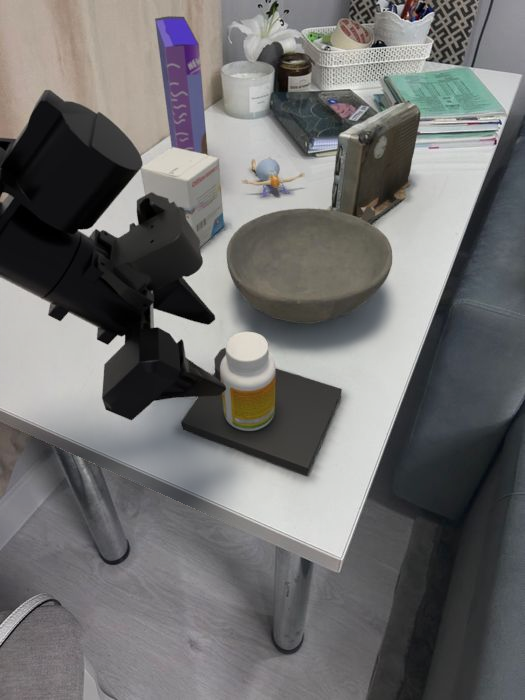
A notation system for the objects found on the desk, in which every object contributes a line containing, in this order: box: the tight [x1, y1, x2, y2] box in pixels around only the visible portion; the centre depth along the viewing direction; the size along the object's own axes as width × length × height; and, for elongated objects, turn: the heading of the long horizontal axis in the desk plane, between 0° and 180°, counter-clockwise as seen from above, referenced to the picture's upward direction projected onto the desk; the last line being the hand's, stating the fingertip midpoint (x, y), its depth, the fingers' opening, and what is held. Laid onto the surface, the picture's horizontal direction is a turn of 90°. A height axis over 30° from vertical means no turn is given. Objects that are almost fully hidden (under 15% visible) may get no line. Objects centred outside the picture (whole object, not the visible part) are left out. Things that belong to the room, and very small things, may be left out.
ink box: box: [139, 146, 225, 248], centre depth 78 cm, size 8×8×12 cm
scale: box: [180, 346, 343, 477], centre depth 55 cm, size 14×12×3 cm
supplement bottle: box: [220, 331, 276, 431], centre depth 51 cm, size 5×5×10 cm
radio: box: [326, 100, 421, 224], centre depth 84 cm, size 23×9×15 cm, turn 137°
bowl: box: [226, 208, 393, 324], centre depth 67 cm, size 21×21×8 cm
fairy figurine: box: [242, 156, 305, 198], centre depth 93 cm, size 12×5×12 cm
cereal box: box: [154, 15, 209, 155], centre depth 87 cm, size 17×5×24 cm, turn 13°
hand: (217, 353), depth 47 cm, fingers open, 9 cm apart
